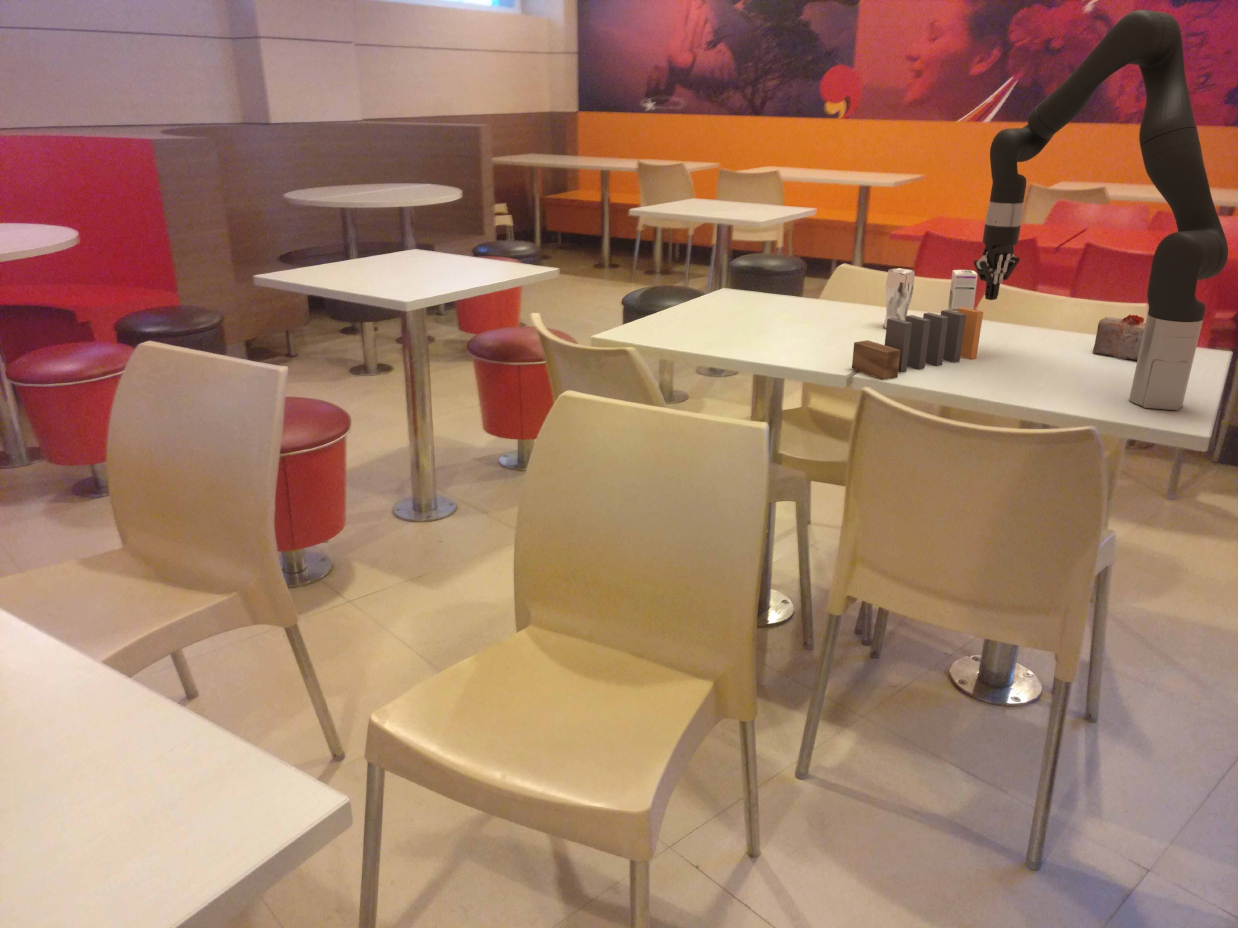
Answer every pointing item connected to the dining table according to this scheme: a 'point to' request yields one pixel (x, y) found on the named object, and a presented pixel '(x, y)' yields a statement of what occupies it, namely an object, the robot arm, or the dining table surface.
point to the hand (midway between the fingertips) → (990, 299)
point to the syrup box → (962, 289)
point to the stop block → (876, 359)
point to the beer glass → (898, 293)
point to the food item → (1120, 337)
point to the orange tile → (971, 332)
